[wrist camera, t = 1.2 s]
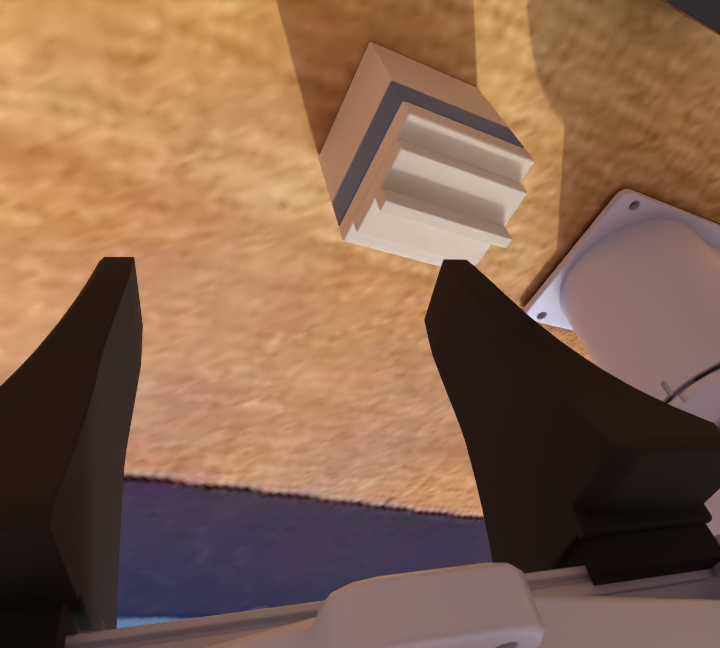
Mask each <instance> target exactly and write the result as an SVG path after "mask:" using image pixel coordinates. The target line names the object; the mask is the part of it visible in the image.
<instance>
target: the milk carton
mask: <svg viewBox="0 0 720 648" xmlns="http://www.w3.org/2000/svg"><path fill="white" fill-rule="evenodd" d="M319 161H320V164H321V168H322V171H323V175H324V178H325V182H326V185H327V188H328V192H329V195H330V199H331V202H332V203H333V204H332V205H333V208H334V212H335V215H336V218H337V222H338V225H339V229H340V232H341V236H342V239H343V240H344V241H347V242H350V243H354V244H358V245H362V246H365V247H369V248H373V249H377V250H380V251H384V252H388V253H392V254H395V255H399V256H403V257H406V258H410V259H414V260H418V261H421V262H425V263H429V264H433V265H436V266H440V267H441V265H442V262H443V259H462V260H468V261H469V262H470V263H471V264H473V265H477V264H478V263H479V261H480V260H481V258H482V257H483V256H484V254H485V253H486V251H487V250H488V249H489V247H490V246H491V244H493V245H496V246H499V247H503V248H506V247H507V246H508V245H509V243H510V242H511V241H512V238H511V236H510V235H509V233H508V231H507V230H506V228H505V227H504V226H505V224H506V223H507V222H508V220H509V219H510V217H511V216H512V215H513V213H514V212H515V210H516V209H517V207H518V206H519V205H520V203H521V202H522V200H523V199H524V198H525V196H526V195H527V191H526V190H525V189H524V187H523V186H522V184H521V183H520V182H521V180H522V179H523V177H524V176H525V175H526V173H527V172H528V170H529V169H530V167H531V166H532V164H533V163H534V160H533V158H532V157H531V156H530V154H529V153H528V152H527V151H526V149H524V147H523V145H522V144H521V143H520V142H519V140H518V139H517V138H516V137H515V135H514V134H513V133H512V131H511V130H510V129H509V127H508V126H507V125H506V123H505V122H504V121H503V119H502V118H501V117H500V116H499V114H498V113H497V112H496V111H495V109H494V108H493V107H492V105H491V104H490V103H489V102H488V100H487V99H486V98H485V97H484V95H483V94H482V93H481V91H480V90H479V89H478V88H477V87H474V86H472V85H470V84H467V83H465V82H463V81H461V80H458V79H456V78H454V77H451V76H449V75H447V74H444V73H442V72H440V71H437V70H435V69H433V68H431V67H428V66H426V65H424V64H421V63H419V62H417V61H414V60H412V59H410V58H408V57H405V56H403V55H401V54H398V53H396V52H394V51H391V50H389V49H387V48H385V47H382V46H380V45H378V44H375V43H373V42H369V44H368V46H367V49H366V51H365V53H364V55H363V58H362V60H361V62H360V64H359V67H358V69H357V71H356V73H355V76H354V78H353V80H352V83H351V85H350V87H349V89H348V92H347V94H346V96H345V98H344V101H343V103H342V105H341V107H340V110H339V112H338V114H337V117H336V119H335V121H334V123H333V126H332V128H331V130H330V132H329V135H328V137H327V139H326V141H325V144H324V146H323V148H322V150H321V153H320V155H319Z"/></svg>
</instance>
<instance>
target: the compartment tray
mask: <svg viewBox="0 0 720 648" xmlns="http://www.w3.org/2000/svg"><path fill="white" fill-rule="evenodd" d="M661 1H663V2H665V3H666V4H668V5H670V6H671V7H673V8H674V9H676V10H678V11H679V12H681V13H683V14H684V15H686V16H688V17H689V18H691V19H693V20H694V21H696V22H697V23H699V24H701V25H703V26H704V27H706V28H708V29H709V30H711V31H713V32H714V33H716V34H718V35H720V0H661Z"/></svg>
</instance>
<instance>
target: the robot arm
mask: <svg viewBox="0 0 720 648" xmlns="http://www.w3.org/2000/svg"><path fill="white" fill-rule="evenodd" d="M634 201H635V202H634ZM632 202H634V203H633V204H632V205H630V204H631V203H632ZM537 322H540V323H544V324H548V325H552V326H556V327H560V328H565V329H569V330H573V331H574V332H575V333H576V335H577V336H578V338H579V340H580V341H581V343H582V344H583V346H584V347H585V349H586V351H587V352H588V354H589V355H590V357H591V359H592V360H593V362H594V363H595V364H593V363H592V362H590V361H588V360H587V359H586V358H584V357H583V356H581V355H580V354H578V353H577V352H575V351H574V350H572V349H571V348H569V347H568V346H567V345H565V344H564V343H563V342H561V341H560V340H558V339H557V338H556V337H555V336H553V335H552V334H551V333H550V332H548V331H547V330H546V329H544V328H543V327H542V326H541V325H539V324H538V323H537ZM425 325H426V329H427V334H428V339H429V343H430V347H431V351H432V355H433V358H434V360H435V363H436V366H437V368H438V371H439V373H440V376H441V379H442V381H443V384H444V386H445V389H446V391H447V394H448V397H449V399H450V402H451V404H452V407H453V409H454V412H455V414H456V417H457V419H458V422H459V425H460V427H461V430H462V433H463V436H464V439H465V442H466V446H467V449H468V453H469V457H470V461H471V464H472V468H473V472H474V476H475V480H476V484H477V488H478V493H479V497H480V501H481V505H482V510H483V515H484V519H485V524H486V529H487V534H488V539H489V544H490V549H491V555H492V561H493V563H480V564H472V565H465V566H457V567H449V568H441V569H433V570H426V571H418V572H410V573H402V574H394V575H386V576H379V577H374V578H369V579H365V580H361V581H357V582H353V583H350V584H348V585H346V586H344V587H342V588H340V589H338V590H336V591H334V592H332V593H331V594H330V596H329V597H328V598H327V599H326V600H325V601H318V602H311V603H303V604H296V605H289V606H281V607H274V608H266V609H259V610H252V611H244V612H237V613H229V614H222V615H215V616H207V617H200V618H192V619H185V620H178V621H170V622H163V623H155V624H148V625H141V626H133V627H126V628H118V629H116V628H117V596H118V571H119V548H120V529H121V510H122V493H123V477H124V464H125V456H126V448H127V443H128V437H129V431H130V426H131V420H132V414H133V408H134V403H135V397H136V391H137V385H138V379H139V373H140V367H141V353H142V329H143V324H142V316H141V308H140V300H139V292H138V284H137V276H136V268H135V260H134V257H104V258H103V259H101V260H100V261H99V263H98V265H97V266H96V268H95V270H94V272H93V273H92V275H91V277H90V278H89V280H88V281H87V283H86V285H85V286H84V288H83V289H82V291H81V292H80V294H79V295H78V297H77V298H76V300H75V301H74V302H73V304H72V305H71V306H70V308H69V309H68V311H67V312H66V313H65V315H64V316H63V317H62V319H61V320H60V321H59V323H58V324H57V325H56V327H55V328H54V329H53V330H52V331H51V332H50V334H49V335H48V336H47V337H46V338H45V340H44V341H43V342H42V343H41V344H40V346H39V347H38V348H37V349H36V350H35V351H34V353H33V354H32V355H31V356H30V357H29V358H28V359H27V360H26V361H25V362H24V363H23V364H22V365H21V366H20V367H19V368H18V369H17V370H16V371H15V372H14V373H13V374H12V375H11V376H10V377H9V378H8V379H7V380H6V381H5V382H4V383H3V384H2V385H1V386H0V648H720V225H719V224H717V223H714V222H712V221H709V220H707V219H704V218H702V217H699V216H696V215H694V214H691V213H689V212H686V211H684V210H681V209H679V208H676V207H674V206H671V205H669V204H666V203H664V202H661V201H659V200H656V199H654V198H651V197H649V196H646V195H644V194H641V193H639V192H636V191H634V190H631V189H624V190H621V191H620V192H618V193H617V194H616V195H615V196H614V197H613V199H612V200H611V201H610V202H609V204H608V205H607V206H606V207H605V208H604V210H603V211H602V212H601V213H600V215H599V216H598V217H597V218H596V220H595V221H594V222H593V223H592V224H591V226H590V227H589V228H588V229H587V231H586V232H585V233H584V234H583V236H582V237H581V238H580V239H579V241H578V242H577V243H576V244H575V245H574V247H573V248H572V249H571V250H570V252H569V253H568V254H567V255H566V257H565V258H564V259H563V260H562V261H561V263H560V264H559V265H558V266H557V268H556V269H555V270H554V271H553V273H552V274H551V275H550V276H549V278H548V279H547V280H546V281H545V282H544V284H543V285H542V286H541V287H540V289H539V290H538V291H537V292H536V294H535V295H534V296H533V297H532V298H531V300H530V301H529V302H528V303H527V305H526V306H525V307H524V309H523V310H522V309H521V308H520V307H518V306H517V305H516V304H515V303H514V302H513V301H512V300H511V299H510V298H508V297H507V296H506V295H505V294H504V293H503V292H502V291H501V290H500V289H499V288H498V287H496V286H495V285H494V284H493V283H492V282H491V281H490V280H489V279H488V278H487V277H486V276H485V275H483V274H482V273H481V272H480V271H479V270H478V269H477V268H476V267H475V266H473V265H472V264H471V263H470V262H469V261H468V260H462V259H443V262H442V265H441V269H440V272H439V275H438V278H437V281H436V285H435V288H434V291H433V294H432V297H431V301H430V304H429V307H428V310H427V313H426V316H425Z"/></svg>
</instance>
